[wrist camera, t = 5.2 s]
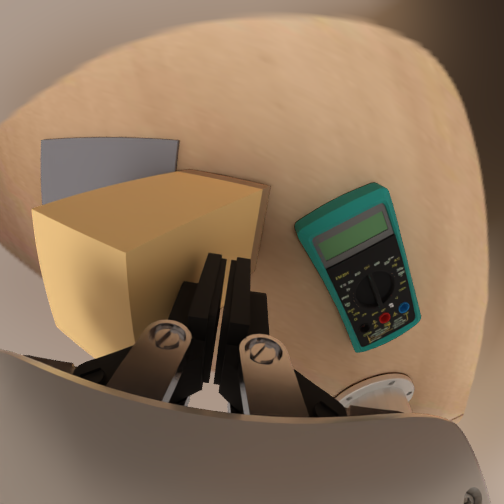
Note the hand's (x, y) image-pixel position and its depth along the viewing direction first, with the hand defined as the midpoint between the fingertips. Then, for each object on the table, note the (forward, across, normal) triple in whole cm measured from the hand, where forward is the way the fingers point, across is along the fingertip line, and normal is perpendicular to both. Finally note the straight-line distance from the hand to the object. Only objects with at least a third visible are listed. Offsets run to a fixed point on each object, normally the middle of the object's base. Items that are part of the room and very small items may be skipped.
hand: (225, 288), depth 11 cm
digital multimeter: (+10, -11, +3) cm, 16 cm away
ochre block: (+9, +1, 0) cm, 9 cm away
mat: (+10, +11, 0) cm, 15 cm away
